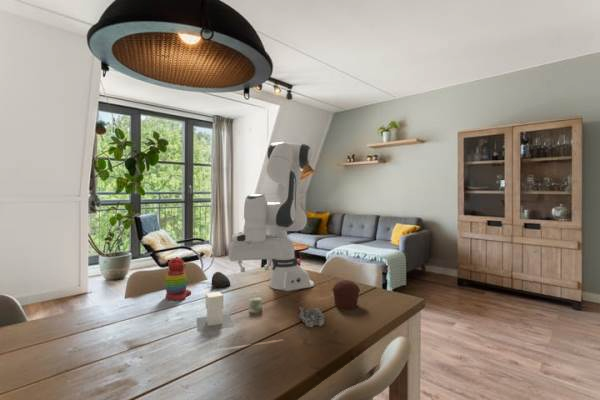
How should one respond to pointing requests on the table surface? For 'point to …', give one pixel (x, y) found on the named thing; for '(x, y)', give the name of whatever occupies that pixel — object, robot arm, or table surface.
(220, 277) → the stone
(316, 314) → the grey jagged lump
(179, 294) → the stacking bear
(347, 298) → the muffin
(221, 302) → the tower top
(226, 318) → the coaster
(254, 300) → the drum
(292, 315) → the table surface
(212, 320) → the tower bottom
